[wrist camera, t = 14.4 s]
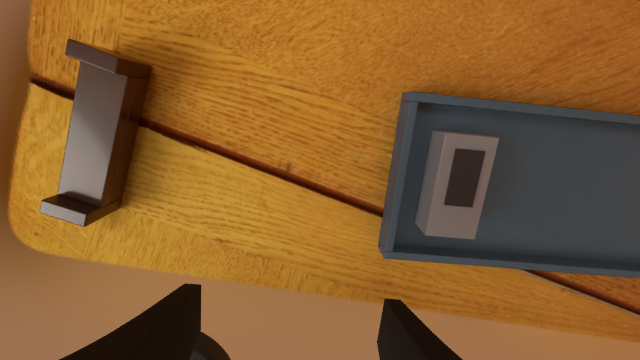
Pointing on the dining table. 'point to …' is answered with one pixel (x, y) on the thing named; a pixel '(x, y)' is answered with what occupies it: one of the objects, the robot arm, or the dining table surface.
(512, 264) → the tray
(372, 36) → the dining table surface
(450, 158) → the grey block
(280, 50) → the dining table surface
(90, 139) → the brown drawer handle
